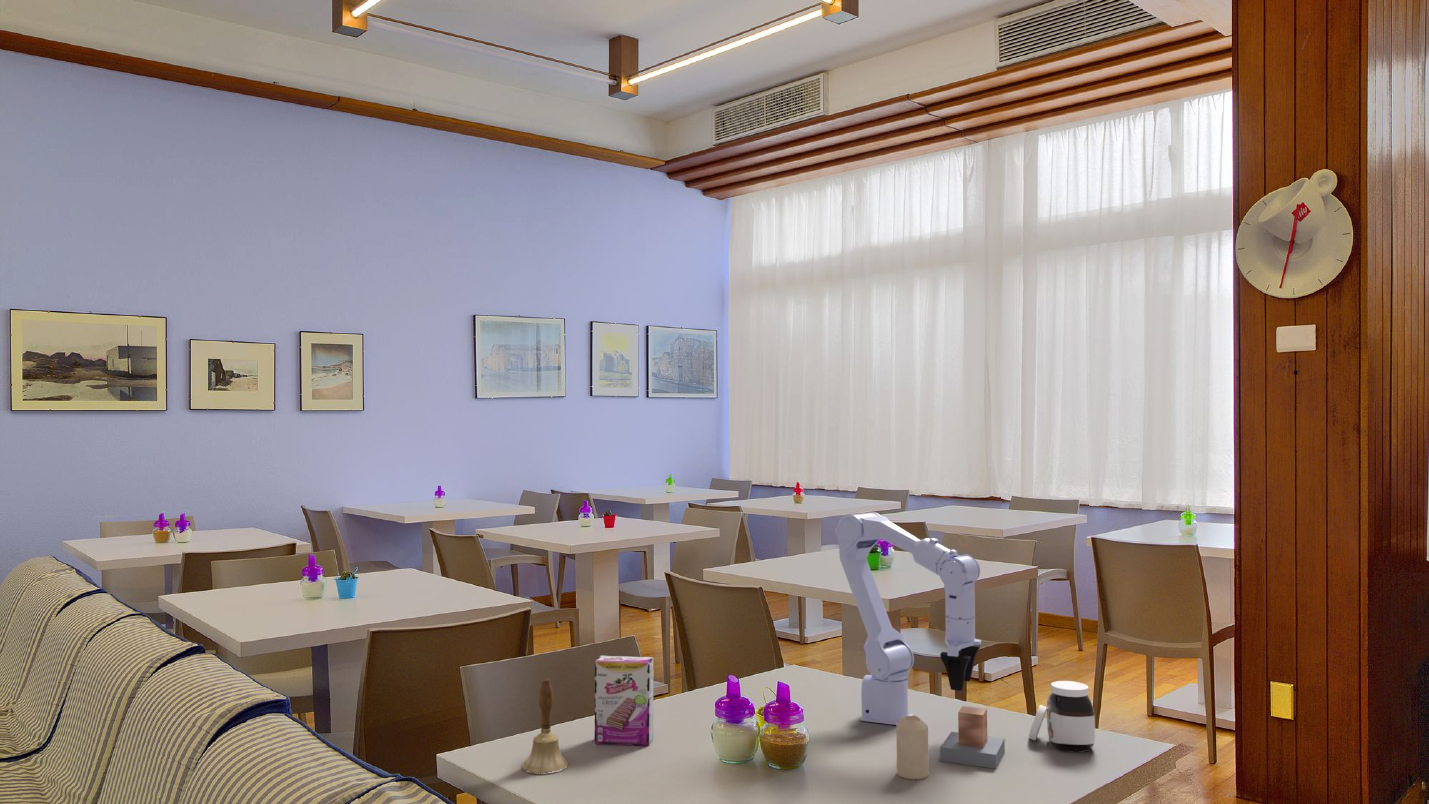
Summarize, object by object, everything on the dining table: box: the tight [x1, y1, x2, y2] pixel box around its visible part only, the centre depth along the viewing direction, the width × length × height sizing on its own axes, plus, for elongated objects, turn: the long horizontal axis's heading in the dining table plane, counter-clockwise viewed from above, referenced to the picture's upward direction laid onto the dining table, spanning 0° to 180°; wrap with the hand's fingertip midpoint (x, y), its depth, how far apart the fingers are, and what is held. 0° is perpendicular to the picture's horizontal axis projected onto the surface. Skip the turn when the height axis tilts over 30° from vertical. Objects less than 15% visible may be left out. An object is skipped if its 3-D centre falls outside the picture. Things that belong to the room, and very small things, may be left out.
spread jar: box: [1028, 680, 1096, 753], centre depth 183 cm, size 12×11×12 cm
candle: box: [895, 715, 929, 780], centre depth 168 cm, size 6×6×10 cm
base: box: [939, 731, 1006, 769], centre depth 177 cm, size 10×10×2 cm
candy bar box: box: [594, 655, 655, 747], centre depth 187 cm, size 11×5×16 cm, turn 84°
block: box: [957, 705, 988, 748], centre depth 177 cm, size 4×4×6 cm
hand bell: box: [521, 678, 569, 775], centre depth 173 cm, size 8×8×16 cm
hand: (960, 685), depth 188 cm, fingers open, 7 cm apart
